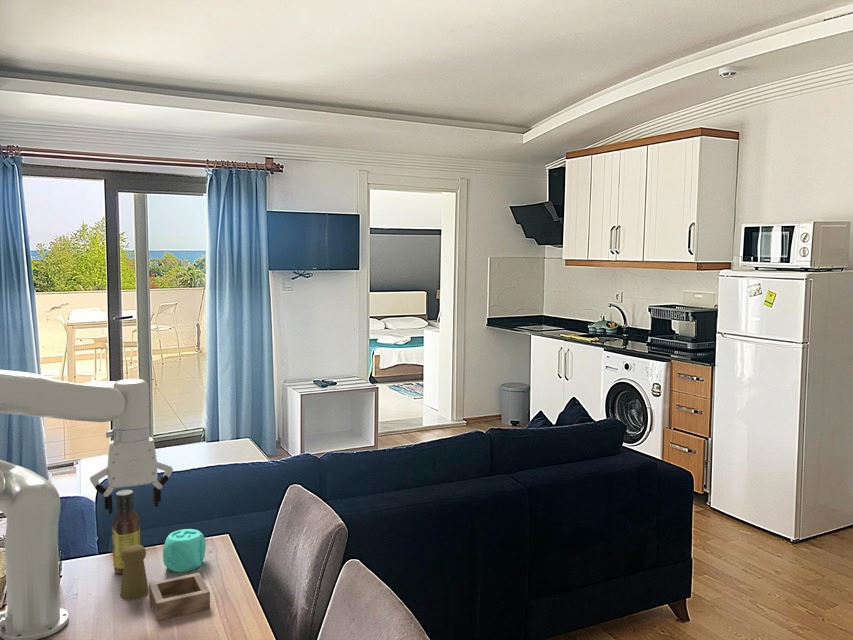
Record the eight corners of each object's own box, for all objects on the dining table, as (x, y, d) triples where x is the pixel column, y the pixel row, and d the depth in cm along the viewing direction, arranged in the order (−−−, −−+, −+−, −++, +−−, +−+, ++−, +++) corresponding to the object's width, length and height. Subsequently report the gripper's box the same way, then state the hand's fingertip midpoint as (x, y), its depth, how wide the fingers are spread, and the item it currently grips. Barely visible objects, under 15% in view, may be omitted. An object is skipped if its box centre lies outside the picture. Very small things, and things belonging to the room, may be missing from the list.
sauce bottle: (121, 564, 175) (119, 486, 173) (145, 564, 175) (143, 487, 173) (108, 575, 168) (106, 495, 167) (133, 576, 168) (131, 496, 167)
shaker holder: (156, 620, 147) (156, 603, 147) (149, 599, 157) (148, 582, 156) (210, 608, 153) (209, 591, 152) (199, 588, 162) (199, 572, 162)
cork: (138, 601, 156) (137, 553, 155) (114, 598, 157) (113, 550, 156) (154, 588, 162) (153, 542, 161) (130, 586, 163) (129, 540, 162)
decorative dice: (195, 572, 170) (195, 541, 170) (163, 572, 170) (162, 540, 170) (206, 559, 178) (205, 528, 178) (174, 558, 178) (174, 528, 178)
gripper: (90, 442, 149) (92, 520, 150) (174, 433, 158) (176, 507, 159) (87, 435, 156) (89, 509, 157) (168, 426, 164) (170, 497, 165)
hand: (133, 508), depth 158 cm, fingers open, 9 cm apart
